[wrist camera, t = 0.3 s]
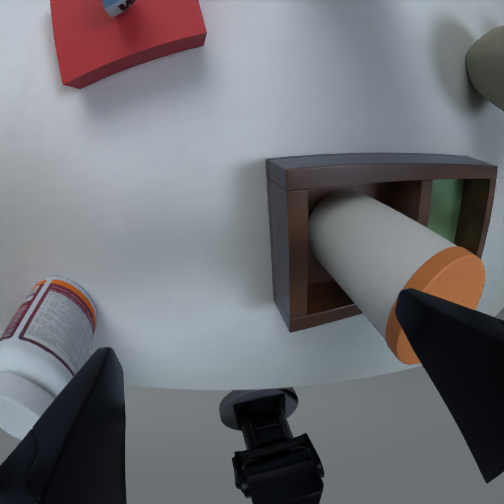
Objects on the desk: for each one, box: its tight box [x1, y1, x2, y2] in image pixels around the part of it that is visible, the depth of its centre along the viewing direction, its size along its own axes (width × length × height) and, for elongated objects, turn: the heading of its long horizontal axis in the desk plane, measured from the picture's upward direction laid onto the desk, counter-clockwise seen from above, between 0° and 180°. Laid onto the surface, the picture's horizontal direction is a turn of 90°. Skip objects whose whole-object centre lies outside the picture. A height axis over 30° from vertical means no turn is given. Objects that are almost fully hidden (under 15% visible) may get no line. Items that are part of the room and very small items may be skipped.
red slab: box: [50, 0, 207, 89], centre depth 9 cm, size 8×7×6 cm
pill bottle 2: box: [308, 189, 485, 364], centre depth 16 cm, size 6×6×11 cm
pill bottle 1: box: [0, 277, 97, 440], centre depth 14 cm, size 6×6×11 cm
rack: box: [266, 153, 497, 332], centre depth 20 cm, size 11×21×4 cm, turn 95°
